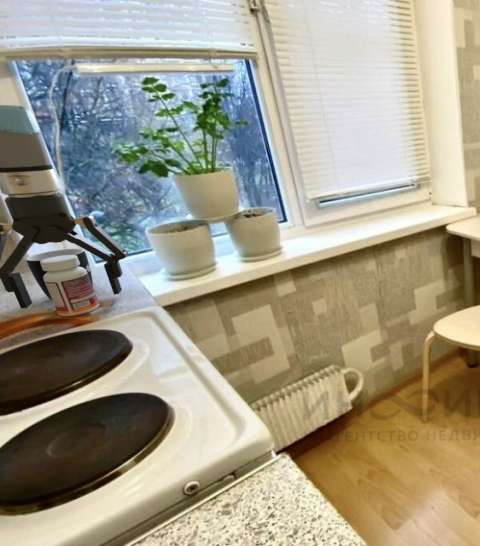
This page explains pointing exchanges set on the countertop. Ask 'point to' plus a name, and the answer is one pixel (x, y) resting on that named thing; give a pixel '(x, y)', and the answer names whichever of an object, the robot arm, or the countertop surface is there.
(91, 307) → the pill bottle
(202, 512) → the countertop surface
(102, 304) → the cork mat
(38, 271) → the mug
